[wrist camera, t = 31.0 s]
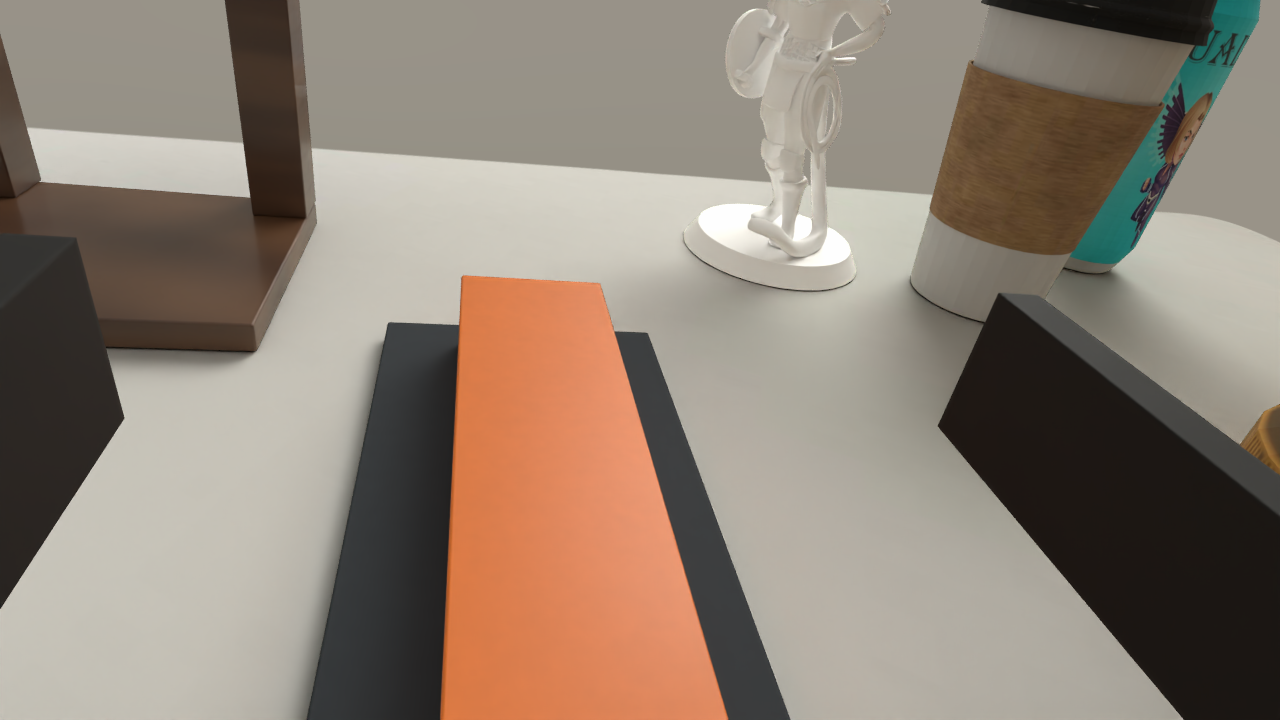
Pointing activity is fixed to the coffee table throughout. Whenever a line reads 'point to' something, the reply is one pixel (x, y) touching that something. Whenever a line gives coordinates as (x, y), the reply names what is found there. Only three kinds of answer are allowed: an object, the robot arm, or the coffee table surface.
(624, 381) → the orange block
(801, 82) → the figurine
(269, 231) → the walnut rack
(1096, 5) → the coffee cup
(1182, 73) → the beverage can
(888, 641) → the coffee table surface
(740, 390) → the coffee table surface
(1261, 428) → the vase
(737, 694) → the rubber pad
